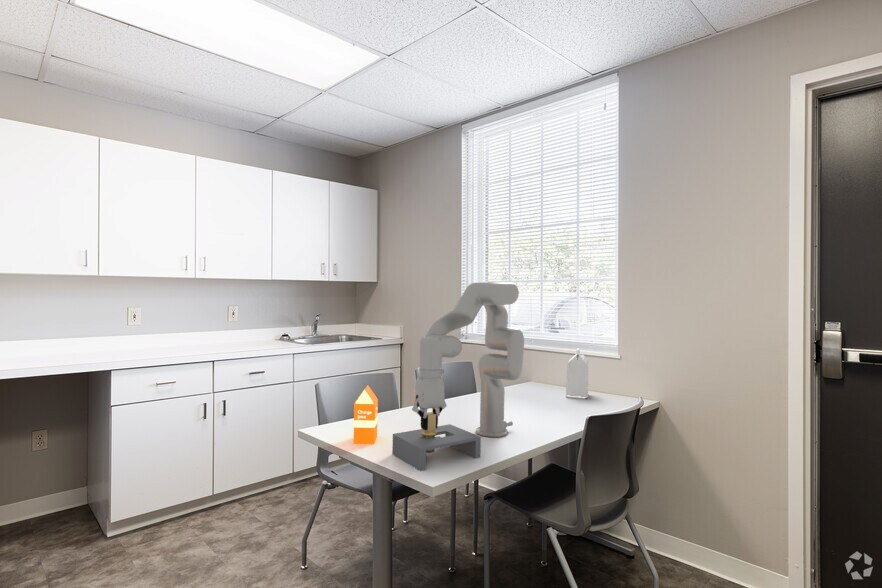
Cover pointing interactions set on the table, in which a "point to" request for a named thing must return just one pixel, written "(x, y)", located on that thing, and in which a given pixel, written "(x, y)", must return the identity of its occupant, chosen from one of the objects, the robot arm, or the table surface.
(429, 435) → the brass peg
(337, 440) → the table surface
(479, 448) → the keyhole board
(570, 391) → the milk
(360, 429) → the orange juice
